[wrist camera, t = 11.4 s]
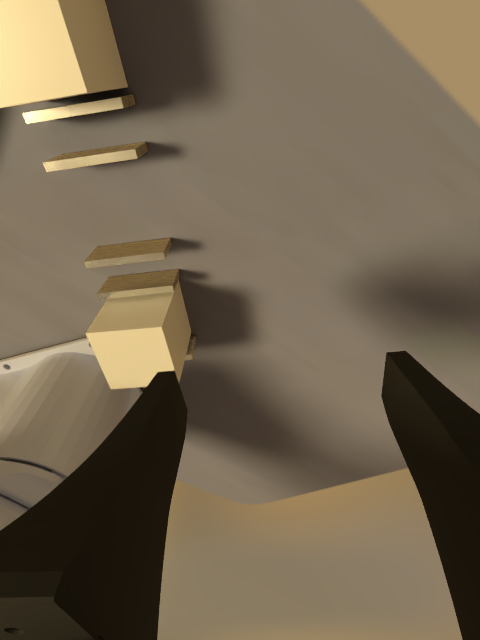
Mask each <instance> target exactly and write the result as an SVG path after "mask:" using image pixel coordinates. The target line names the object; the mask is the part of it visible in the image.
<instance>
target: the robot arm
mask: <svg viewBox="0 0 480 640" xmlns="http://www.w3.org/2000/svg"><path fill="white" fill-rule="evenodd" d="M382 400H383V403H384V407H385V411H386V414H387V417H388V421H389V424H390V426H391V429H392V431H393V433H394V436H395V438H396V440H397V443H398V445H399V447H400V450H401V452H402V454H403V457H404V459H405V461H406V463H407V466H408V468H409V470H410V473H411V475H412V477H413V480H414V482H415V484H416V486H417V489H418V492H419V494H420V497H421V499H422V502H423V505H424V508H425V511H426V514H427V518H428V521H429V523H430V527H431V530H432V533H433V536H434V539H435V543H436V546H437V549H438V553H439V556H440V559H441V562H442V566H443V569H444V573H445V576H446V580H447V583H448V587H449V590H450V594H451V597H452V601H453V604H454V608H455V612H456V616H457V619H458V623H459V627H460V631H461V635H462V639H463V640H480V414H479V413H477V412H476V411H475V410H474V409H472V408H471V407H470V406H468V405H467V404H466V403H465V402H463V401H462V400H461V399H460V398H458V397H457V396H456V395H455V394H454V393H453V392H451V391H450V390H449V389H448V388H447V387H445V386H444V385H443V384H442V383H441V382H440V381H438V380H437V379H436V378H435V377H434V376H433V375H432V374H431V373H430V372H428V371H427V370H426V369H425V368H424V367H423V366H422V365H421V364H420V363H419V362H417V361H416V360H415V359H414V358H413V357H412V356H411V355H410V354H409V353H407V352H406V351H399V352H387V353H386V361H385V370H384V379H383V387H382ZM186 422H187V407H186V404H185V401H184V398H183V395H182V392H181V389H180V385H179V382H178V379H177V376H176V373H175V371H163V372H157V374H156V375H155V376H154V378H153V379H152V380H151V382H150V383H149V384H148V386H147V387H146V388H145V390H144V391H143V392H142V391H141V389H140V387H137V388H123V389H110V386H109V384H108V382H107V380H106V378H105V375H104V373H103V371H102V369H101V367H100V364H99V362H98V360H97V358H96V355H95V353H94V351H93V349H92V347H91V344H90V342H89V340H88V338H87V337H86V338H82V339H78V340H74V341H71V342H67V343H63V344H59V345H55V346H51V347H48V348H44V349H40V350H36V351H32V352H29V353H25V354H21V355H17V356H13V357H9V358H6V359H2V360H0V640H157V633H158V618H159V604H160V592H161V581H162V569H163V560H164V550H165V541H166V532H167V525H168V516H169V509H170V504H171V498H172V494H173V489H174V485H175V481H176V476H177V472H178V467H179V463H180V458H181V454H182V449H183V444H184V440H185V432H186Z"/></svg>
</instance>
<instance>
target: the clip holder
mask: <svg viewBox="0 0 480 640" xmlns="http://www.w3.org/2000/svg"><path fill="white" fill-rule="evenodd" d="M132 105H136V102H135V98H134V94H133V95H127V96H121V97H115V98H109V99H103V100H97V101H90V102H84V103H78V104H72V105H66V106H60V107H54V108H48V109H42V110H37V111H32V112H27V113H22V114H23V116H24V119H25V121H26V123H27V124H28V123H34V122H41V121H47V120H53V119H59V118H65V117H72V116H78V115H84V114H90V113H96V112H103V111H109V110H115V109H121V108H126V107H129V106H132ZM147 151H148V148H147V145H146V142H141V143H134V144H127V145H121V146H114V147H107V148H101V149H94V150H88V151H81V152H74V153H68V154H61V155H59V156H57V157H55V158H52V159H50V160H48V161H46V162H43V164H44V167H45V169H46V172H49V171H56V170H63V169H70V168H77V167H83V166H90V165H97V164H104V163H111V162H118V161H124V160H131V159H138V158H139V157H140V156H142V155H143V154H144V153H145V152H147ZM171 246H172V242H171V238H164V239H156V240H147V241H139V242H131V243H123V244H115V245H107V246H98V247H96V248H95V249H94V251H93V252H92V253H91V254H90V255H89V256H88V257H87V259H86V260H85V261H84V263H85V266H86V268H94V267H103V266H111V265H120V264H128V263H137V262H145V261H154V260H163V259H166V257H167V254H168V252H169V250H170V248H171ZM179 277H180V273H179V269H176V270H167V271H158V272H149V273H141V274H132V275H123V276H114V277H108V279H107V280H106V281H105V283H104V284H103V286H102V287H101V289H100V290H99V292H98V293H97V295H98V297H99V300H101V299H111V298H120V297H130V296H139V295H148V294H158V293H167V292H174V291H175V288H176V285H177V282H178V280H179ZM196 341H197V339H196V335H195V336H190V340H189V345H188V349H187V353H186V357H185V360H191V359H193V356H194V351H195V346H196Z"/></svg>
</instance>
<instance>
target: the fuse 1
mask: <svg viewBox="0 0 480 640" xmlns="http://www.w3.org/2000/svg"><path fill="white" fill-rule="evenodd" d="M126 87H128V85H127V82H126V78H125V74H124V70H123V66H122V63H121V59H120V55H119V51H118V48H117V44H116V40H115V36H114V33H113V29H112V25H111V21H110V18H109V14H108V10H107V6H106V2H105V0H0V108H5V107H12V106H18V105H25V104H32V103H38V102H45V101H51V100H57V99H63V98H68V97H74V96H80V95H86V94H92V93H97V92H103V91H109V90H115V89H120V88H126Z"/></svg>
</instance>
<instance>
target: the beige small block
mask: <svg viewBox="0 0 480 640" xmlns="http://www.w3.org/2000/svg"><path fill="white" fill-rule="evenodd" d="M86 336H87V338H88V340H89V342H90V344H91V347H92V349H93V351H94V353H95V355H96V358H97V360H98V362H99V364H100V367H101V369H102V371H103V373H104V375H105V378H106V380H107V382H108V384H109V386H110V389H123V388H137V387H147V386H148V384H149V383H150V382H151V380H152V379H153V378H154V376H155V375H156V374H157V372H163V371H175V373H176V376H177V379H178V382H179V383H180V378H181V374H182V370H183V366H184V362H185V357H186V353H187V349H188V345H189V340H190V336H191V328H190V324H189V320H188V316H187V312H186V308H185V304H184V300H183V296H182V292H181V288H180V284H179V280H178V282H177V285H176V288H175V291H174V292H167V293H158V294H148V295H139V296H130V297H120V298H111V299H107V301H106V302H105V304H104V305H103V307H102V308H101V310H100V312H99V313H98V315H97V316H96V318H95V319H94V321H93V322H92V324H91V326H90V327H89V329H88V330H87V332H86Z"/></svg>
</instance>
